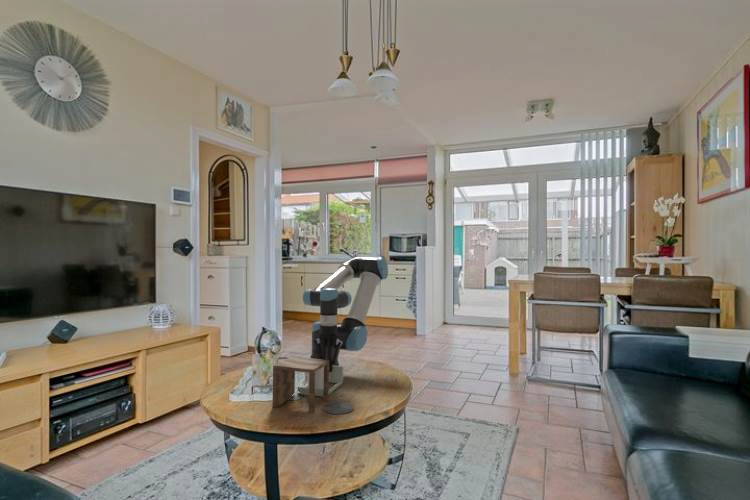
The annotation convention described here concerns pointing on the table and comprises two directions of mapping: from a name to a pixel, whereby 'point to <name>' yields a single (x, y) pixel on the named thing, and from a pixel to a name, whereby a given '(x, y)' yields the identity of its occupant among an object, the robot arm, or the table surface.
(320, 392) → the grey blocky pieces
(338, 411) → the coaster
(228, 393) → the table surface
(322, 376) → the beverage can
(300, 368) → the wooden step stool
